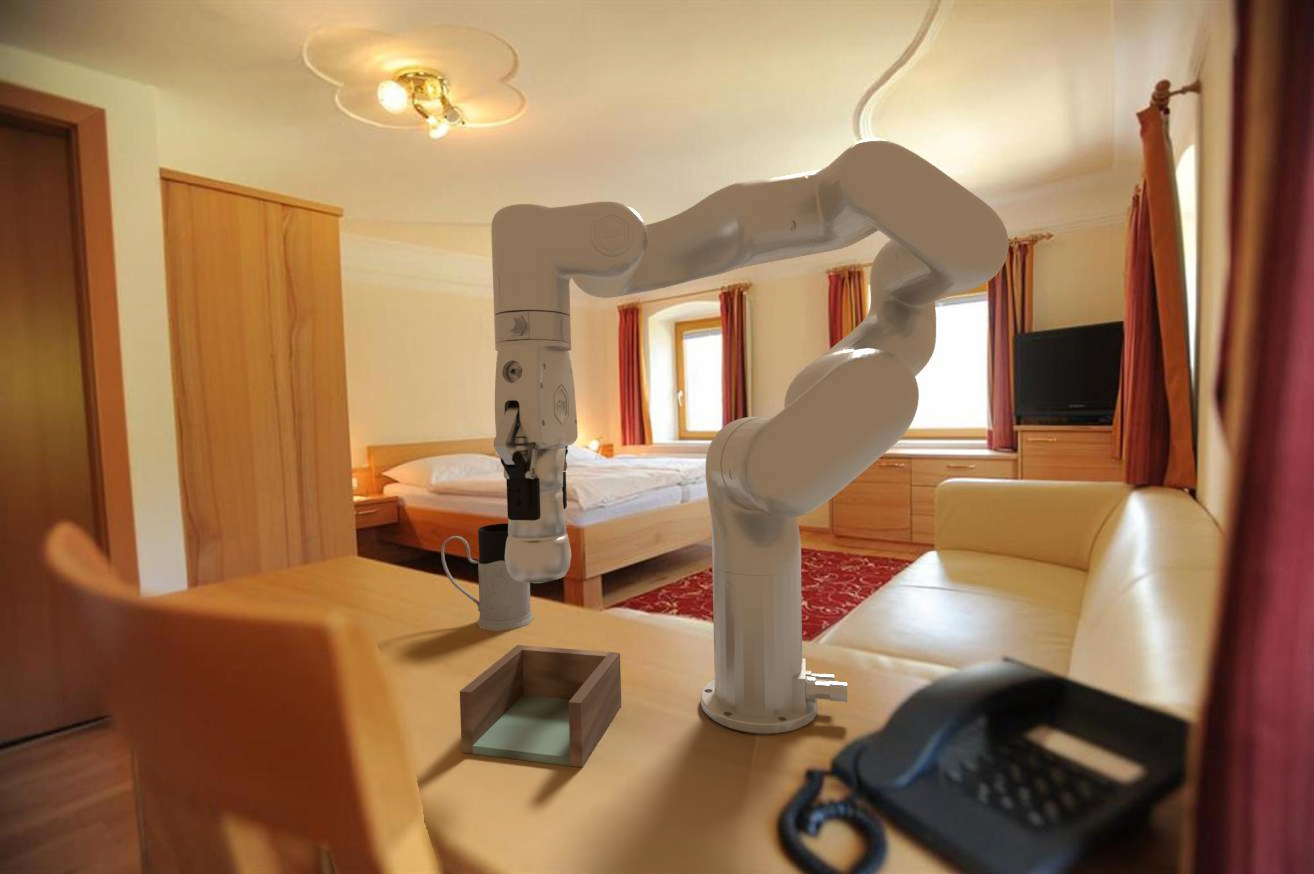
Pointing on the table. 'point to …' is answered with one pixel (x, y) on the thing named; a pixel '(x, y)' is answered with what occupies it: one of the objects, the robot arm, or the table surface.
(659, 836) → the table surface
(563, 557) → the plastic bottle
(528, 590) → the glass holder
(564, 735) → the u rest
